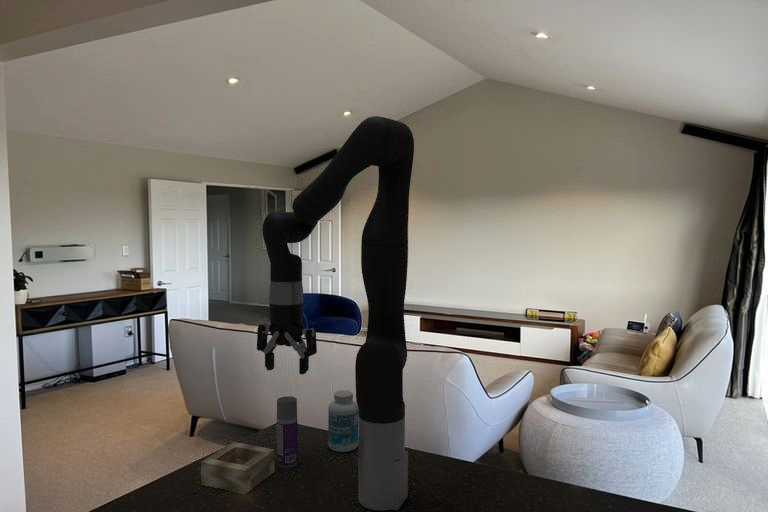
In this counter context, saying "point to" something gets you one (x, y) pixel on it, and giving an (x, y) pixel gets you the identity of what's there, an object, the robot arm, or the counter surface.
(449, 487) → the counter surface
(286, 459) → the container
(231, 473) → the socket block
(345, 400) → the pill bottle
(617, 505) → the counter surface
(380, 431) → the robot arm
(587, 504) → the counter surface
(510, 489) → the counter surface
